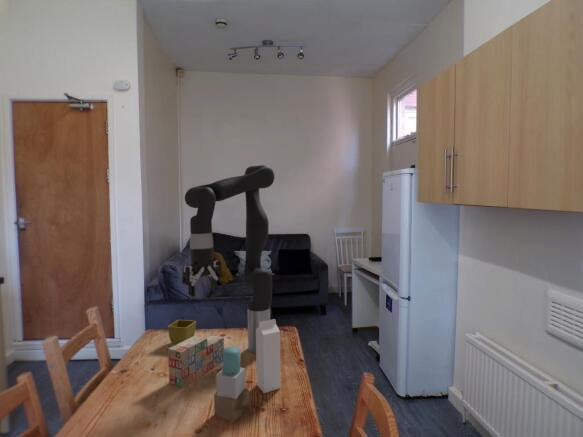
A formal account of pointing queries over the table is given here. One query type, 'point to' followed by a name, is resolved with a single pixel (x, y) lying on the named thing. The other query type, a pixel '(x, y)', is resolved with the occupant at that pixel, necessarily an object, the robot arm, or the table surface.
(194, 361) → the stack of blocks
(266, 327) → the milk
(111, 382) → the table surface
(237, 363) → the teal cylinder
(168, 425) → the table surface
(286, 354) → the table surface
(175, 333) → the flower pot
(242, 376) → the grey block
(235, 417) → the walnut block
